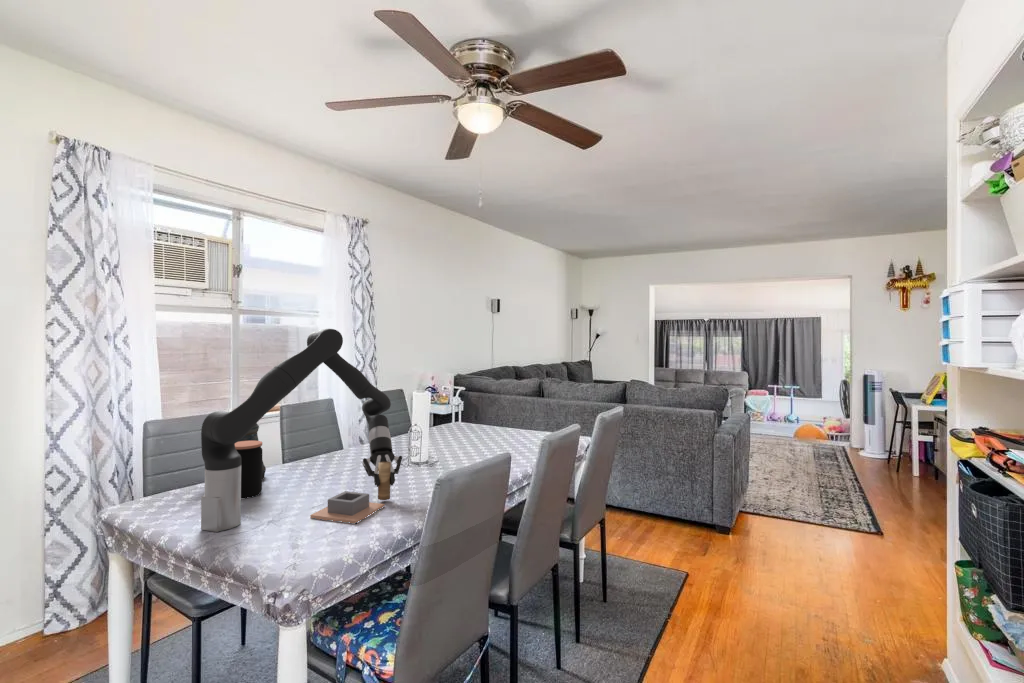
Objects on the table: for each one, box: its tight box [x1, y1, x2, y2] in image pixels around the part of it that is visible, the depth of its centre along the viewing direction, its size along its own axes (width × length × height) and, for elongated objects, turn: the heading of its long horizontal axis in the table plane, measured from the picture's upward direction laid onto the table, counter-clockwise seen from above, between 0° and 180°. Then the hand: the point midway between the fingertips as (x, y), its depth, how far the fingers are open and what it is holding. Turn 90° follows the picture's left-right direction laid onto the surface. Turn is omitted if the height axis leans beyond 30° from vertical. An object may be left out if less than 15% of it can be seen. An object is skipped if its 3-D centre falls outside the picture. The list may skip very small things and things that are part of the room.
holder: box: [310, 490, 386, 524], centre depth 156 cm, size 16×16×5 cm
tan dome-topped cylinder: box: [377, 461, 391, 501], centre depth 167 cm, size 4×4×12 cm
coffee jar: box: [235, 440, 263, 499], centre depth 172 cm, size 11×11×18 cm
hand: (385, 484), depth 165 cm, fingers closed on tan dome-topped cylinder, 4 cm apart
